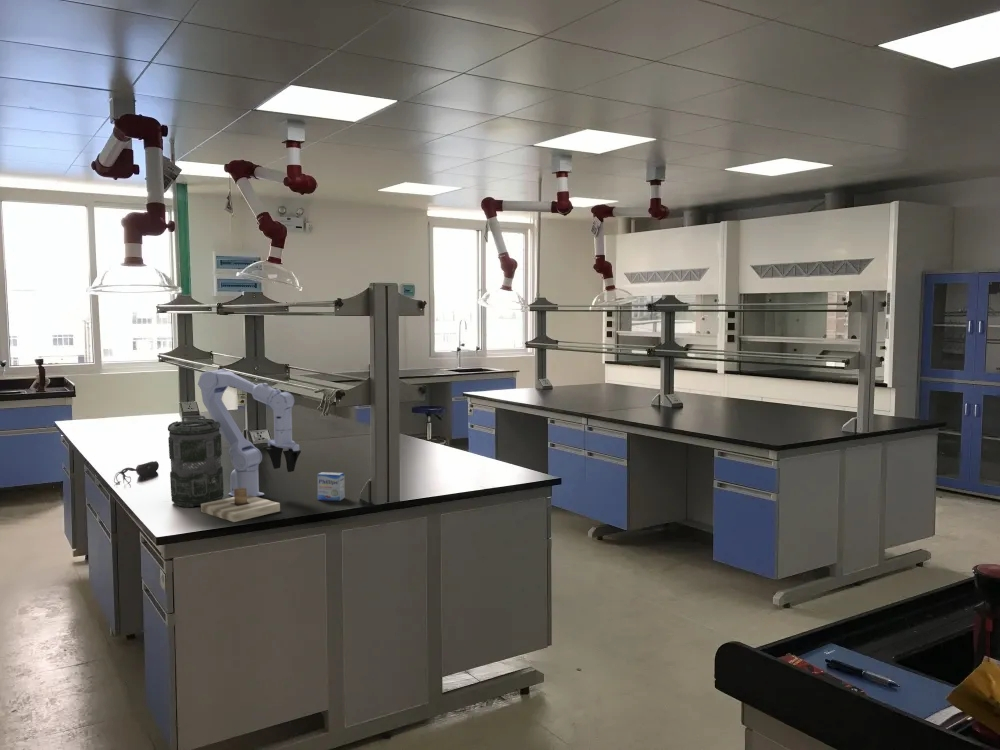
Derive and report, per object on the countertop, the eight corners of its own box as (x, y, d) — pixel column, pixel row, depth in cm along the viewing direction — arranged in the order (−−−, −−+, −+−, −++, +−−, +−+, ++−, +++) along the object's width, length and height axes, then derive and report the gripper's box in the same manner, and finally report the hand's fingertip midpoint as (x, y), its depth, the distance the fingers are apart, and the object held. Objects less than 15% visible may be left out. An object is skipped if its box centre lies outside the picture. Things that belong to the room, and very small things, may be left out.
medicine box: (317, 500, 255) (316, 474, 254) (322, 496, 259) (322, 471, 258) (340, 501, 254) (339, 475, 253) (345, 497, 258) (344, 472, 257)
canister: (230, 493, 260) (226, 411, 256) (214, 508, 244) (210, 420, 241) (182, 494, 259) (178, 411, 256) (163, 508, 244) (158, 420, 240)
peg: (232, 511, 241) (232, 489, 240) (244, 509, 243) (243, 487, 242) (237, 513, 238) (236, 491, 237) (248, 511, 240) (248, 489, 240)
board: (201, 511, 240) (200, 503, 239) (246, 501, 252) (246, 494, 252) (234, 522, 228) (233, 513, 228) (280, 511, 241) (279, 503, 241)
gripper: (306, 430, 254) (307, 470, 255) (280, 425, 263) (280, 465, 264) (288, 432, 249) (289, 474, 250) (262, 428, 258) (262, 468, 259)
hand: (283, 469), depth 257 cm, fingers open, 7 cm apart
